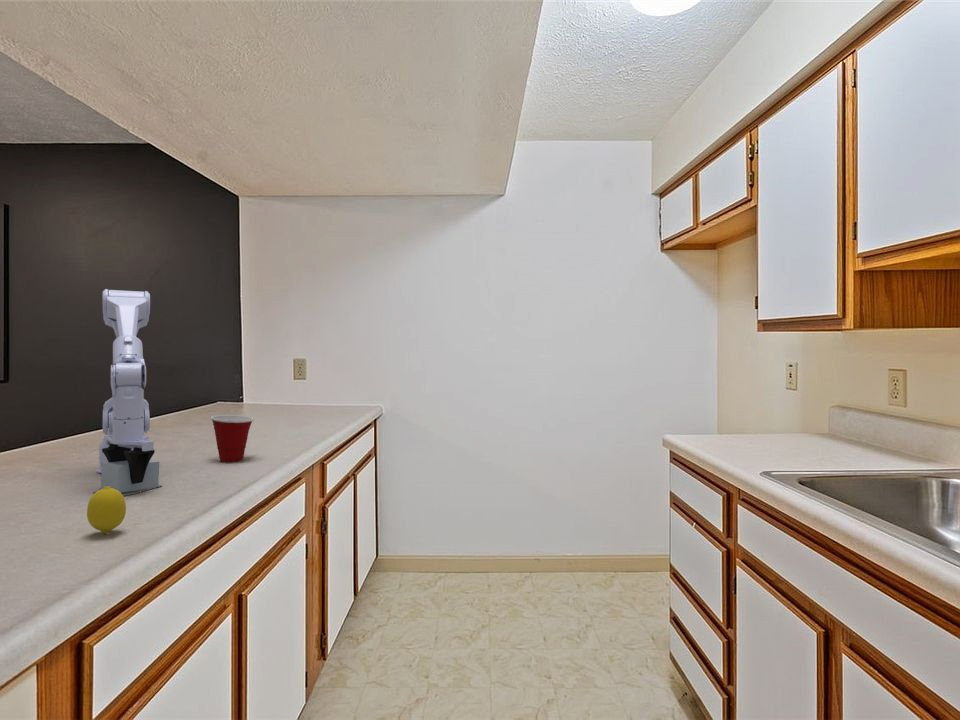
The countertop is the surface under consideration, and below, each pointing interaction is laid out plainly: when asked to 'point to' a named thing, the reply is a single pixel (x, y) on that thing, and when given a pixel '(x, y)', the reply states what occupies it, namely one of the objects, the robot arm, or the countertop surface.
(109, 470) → the pale grey rectangular box
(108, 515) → the lemon
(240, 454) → the plastic cup
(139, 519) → the countertop surface
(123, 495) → the thin grey panel
